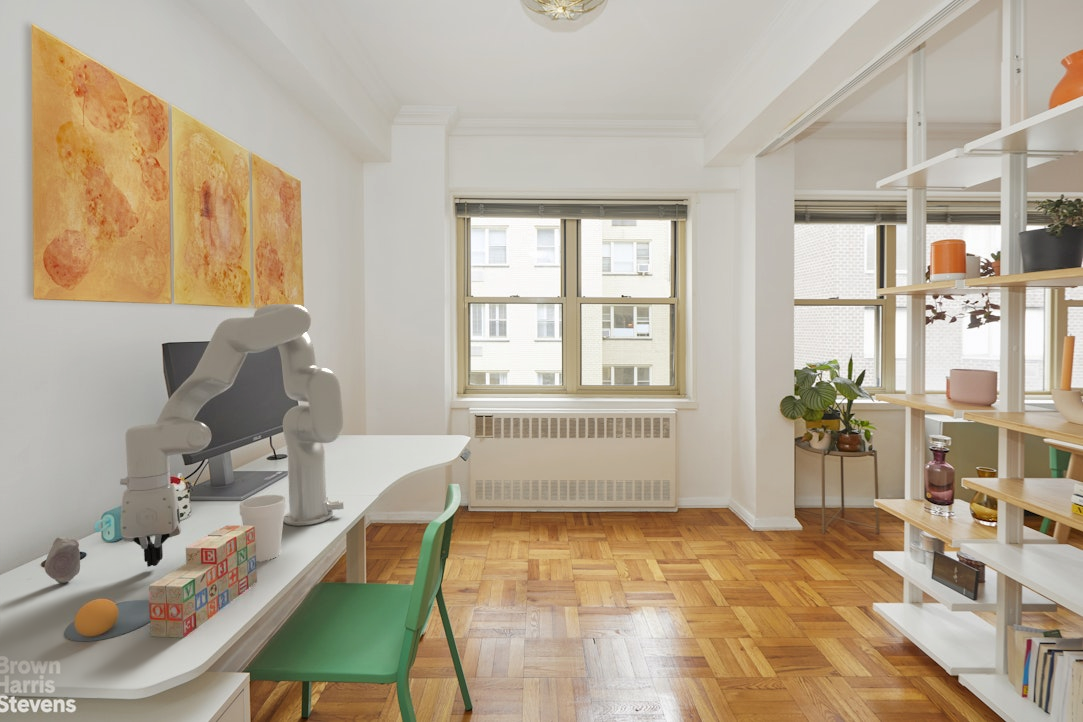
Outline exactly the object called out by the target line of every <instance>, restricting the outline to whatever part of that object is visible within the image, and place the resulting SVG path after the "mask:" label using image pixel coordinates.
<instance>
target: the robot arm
mask: <svg viewBox="0 0 1083 722" xmlns="http://www.w3.org/2000/svg"><path fill="white" fill-rule="evenodd" d="M311 325H312V318H311V314H310V312H309V311H308V309H306V308H305V307H304V306H302V305H300V304H296V303H277V304H276V303H274V304H273V303H272V304H267V305H266V304H265V305H262V306H260V307H258V308H257V309H256V310H255V311H254V313H253V316H251V317H232V318H227V319H224V320H223V321H222V322H221V323H219V324H218V325H217V327H216V328H215V330H214V332H213V334H212V336H211V338H210V341H209V342H208V344H207V346H206V348H205V350H204V352H203V354H202V356H201V358H200V359H199V361H198V363H197V365H196V368H195V369H194V371H193V372H192V373H191V375H189V376H188V378H186V379H185V380H184V382H182V384H181V385H180V386H179V387H178V388H177V389H176V390H174V392H173V393H172V395H171V396H170V397H169V398H168V400H167V401H166V403H165V405H164V407H163V408H162V411H161V413H160V414H159V417H158V418H157V420H156V422H155V424H153V423H151V424H150V423H149V424H148V423H147V424H140V425H135V426H132V427H129V428H128V429H127V430H126V432H125V451H126V454H125V455H126V470H127V472H126V473H127V476H126V477H125V478H120V480H119V484H120V486H126V490H124V491H123V494H122V499H121V505H120V506H121V509H120V535H121V536H122V541H123V542H130V543H131V542H134V543H136V544H137V545H139V546H140V548H141V549H143V556H144V557H143V558H144V559H143V560H144V562H146V565H147V566H146V567H152V566H153V567H154V566H155V567H156V566H158V564H159V563H160V562H161V561H162V559H163V557H164V556H163V554H164V553H163V544H164V543H165V542H166V540H168V539H169V538H173V537H177V536H178V535H180V534H181V532H182V528H181V525H180V524H181V512H180V504H179V499H178V495H177V494H178V493H177V492H176V491H177V489H176V487H175V485H174V484H173V483H171V469H170V467H171V466H170V456H172V455H173V456H174V455H190V454H196V453H199V452H201V451H203V450H205V449H206V448H208V446H209V444H210V443H211V440H212V432H211V429H210V427H209V426H207V425H206V424H205V423H204V422H201V421H199V420H195V418H196V417H197V415H198V413H199V412H200V410H201V409H202V408H203V406H204V405H206V404H207V403H208V402H209V401H210V400H211V399H213V398H214V397H216V396H218V395H220V394H222V393H224V392H225V391H227V390H228V389H230V388H232V386H233V385H234V383H235V380H236V379H237V376H238V374H239V372H240V370H241V368H242V366H243V364H244V362H245V360H246V358H247V356H248V353H249V354H251V353H252V354H257V353H261V352H265V351H268V350H271V349H274V348H276V347H277V349H278V352H279V354H280V355H279V356H280V360H281V370H282V378H283V387H284V392H285V394H286V396H287V397H288V398H289V399H291V400H292V401H293V400H294V401H297V402H304V403H305V402H306V403H308V404H300V405H295V406H293V407H291V408H290V409H288V411H286V413H285V414H284V416H283V419H282V431H283V436H284V441H285V443H286V444H285V446H286V452H287V473H288V474H287V475H288V476H287V477H288V499H289V500H288V501H289V503H288V504H289V511H288V512H287V513H286V514H284V518H283V523H285V524H286V525H290V526H298V527H299V526H308V525H309V526H311V525H315V524H319V523H323V522H325V521H327V520H329V519H331V518H332V517H333V515H334V514H333V511H334V510H339V511H340V510H344V501H343V502H340V501H339V500H337V501H331V500H330V501H329V498H328V497H327V483H326V482H327V481H326V479H327V478H326V452H325V447H324V444H330V443H332V442H335V441H336V440H337V439H338V438H339V437H340V435H341V433H342V431H343V428H344V414H343V402H342V392H341V390H342V389H341V385H340V381H339V379H338V377H337V375H336V374H335V373H334V372H333V371H332V370H330V369H329V368H326V367H321V366H317V361H316V354H315V347H314V345H313V341H312V339H311V337H310V335H309V334H308V330H309V329H310V327H311ZM152 536H154V542H153V540H152Z"/></svg>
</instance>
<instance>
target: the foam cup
mask: <svg viewBox="0 0 1083 722" xmlns="http://www.w3.org/2000/svg"><path fill="white" fill-rule="evenodd" d="M285 509H286V497H285V496H283V495H277V494H267V495H258V496H253V497H250V498H247V499H245V500H243V501H241V502H240V504H239V516H240V517H241V522H242V526H255V540H256V561H259V562H266V561H265V560H267V561H271V560H274V559H275V557H276V558H277V557H279V556H280V553H281V548H282V547H281V546H282V537H283V529H284V527H283V526H284V516H285ZM278 555H279V556H278ZM273 558H274V559H273ZM270 559H271V560H270Z"/></svg>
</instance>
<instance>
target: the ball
mask: <svg viewBox="0 0 1083 722" xmlns="http://www.w3.org/2000/svg"><path fill="white" fill-rule="evenodd" d="M118 614H119V611H118V607H117V605H116V602H114V601H113V600H110V599H108V598H97V599H94V600H91V601H89V602H87V603H85V604H84V605H83V606H82V607H81V608H80V609H78V611H77V613H76V614H75V617H74V621H75V628H76V630H77V631H78V632H79V633H80V634H82V635H84V636H89V637H93V636H98V635H101V634H103V633H105V632H107V631H108V630H109V629H111V628H112V627H113V625H114V624H115V623H116V621H117V619H118Z"/></svg>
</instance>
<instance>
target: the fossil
mask: <svg viewBox="0 0 1083 722" xmlns="http://www.w3.org/2000/svg"><path fill="white" fill-rule="evenodd" d="M44 563H45V564H44V572H45V573H46V575H47V576H49V577H50V578H51V579H52V580H55V582H57V583H59V584H67V583H69V582H71V581H72V580H73V579H74V578H75V577H76V576H77V575H79V572H80V571H81V570H80V569H81V550H80V542H79V540H78V539H76V538H70V537H62V536H61V537H60V536H57V538H55V540H54V541H53V543H52V546H51V547H50V550H49V552H48V554H47V556H46V560H45V562H44ZM66 582H67V583H66Z"/></svg>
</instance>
